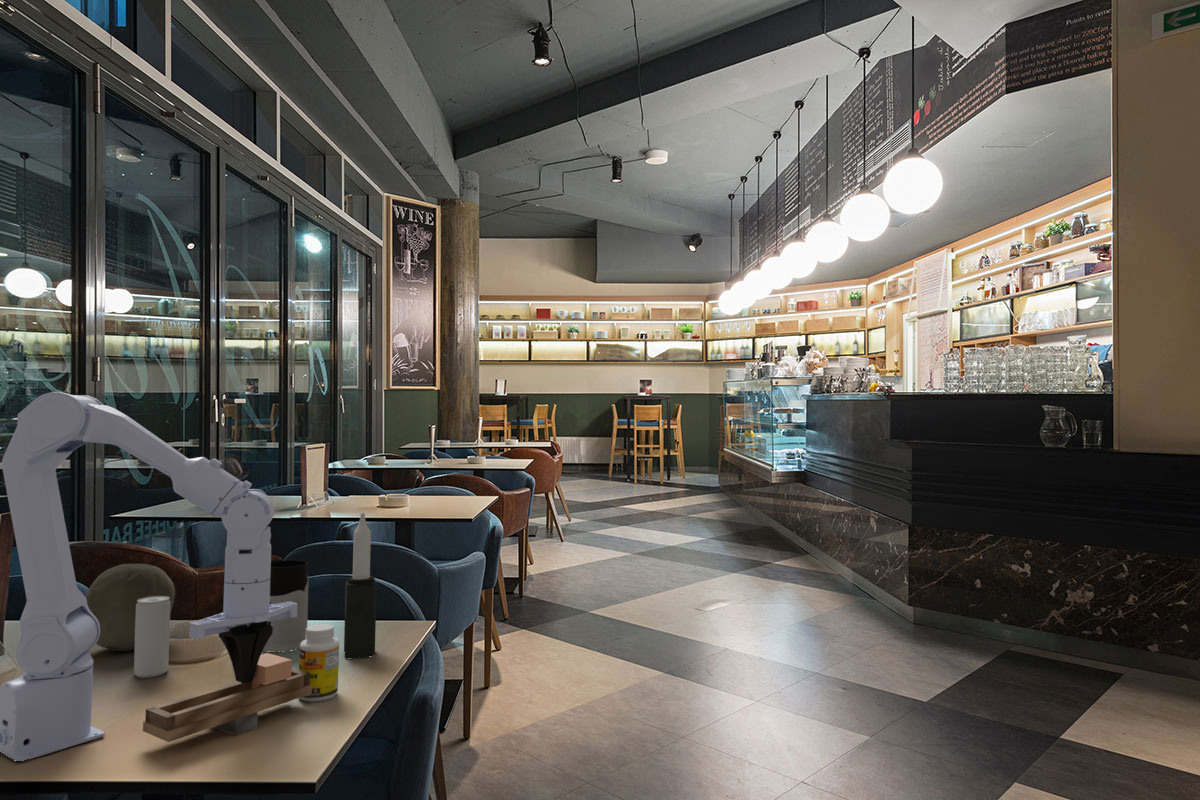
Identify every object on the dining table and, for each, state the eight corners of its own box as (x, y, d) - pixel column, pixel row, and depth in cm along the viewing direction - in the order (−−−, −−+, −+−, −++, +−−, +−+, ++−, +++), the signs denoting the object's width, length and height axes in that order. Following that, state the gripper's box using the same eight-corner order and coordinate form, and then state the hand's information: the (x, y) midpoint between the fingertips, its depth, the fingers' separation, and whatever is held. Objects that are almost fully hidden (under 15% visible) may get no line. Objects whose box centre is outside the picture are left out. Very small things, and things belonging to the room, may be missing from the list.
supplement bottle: (289, 698, 110) (291, 628, 110) (320, 687, 115) (322, 620, 115) (315, 705, 107) (317, 634, 108) (345, 694, 112) (347, 625, 112)
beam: (168, 759, 89) (170, 718, 89) (141, 747, 93) (142, 707, 93) (312, 708, 106) (313, 673, 106) (284, 699, 110) (285, 665, 110)
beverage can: (151, 679, 117) (154, 603, 118) (125, 677, 118) (128, 601, 119) (175, 670, 122) (177, 596, 123) (149, 668, 123) (152, 595, 124)
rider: (264, 697, 100) (265, 667, 100) (240, 689, 103) (241, 660, 103) (290, 689, 104) (291, 659, 104) (266, 681, 107) (267, 652, 107)
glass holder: (317, 645, 137) (320, 563, 137) (237, 662, 126) (240, 573, 127) (296, 636, 143) (299, 557, 143) (218, 651, 132) (221, 567, 133)
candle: (375, 656, 131) (378, 513, 132) (344, 659, 129) (348, 514, 130) (373, 648, 135) (376, 510, 136) (343, 651, 133) (347, 511, 134)
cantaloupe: (165, 655, 130) (168, 569, 131) (69, 663, 125) (73, 573, 125) (178, 634, 143) (181, 556, 144) (92, 641, 138) (95, 559, 139)
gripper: (212, 592, 93) (208, 702, 93) (311, 574, 105) (309, 671, 105) (181, 586, 97) (178, 691, 96) (281, 569, 109) (278, 662, 109)
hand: (244, 680), depth 101 cm, fingers closed
